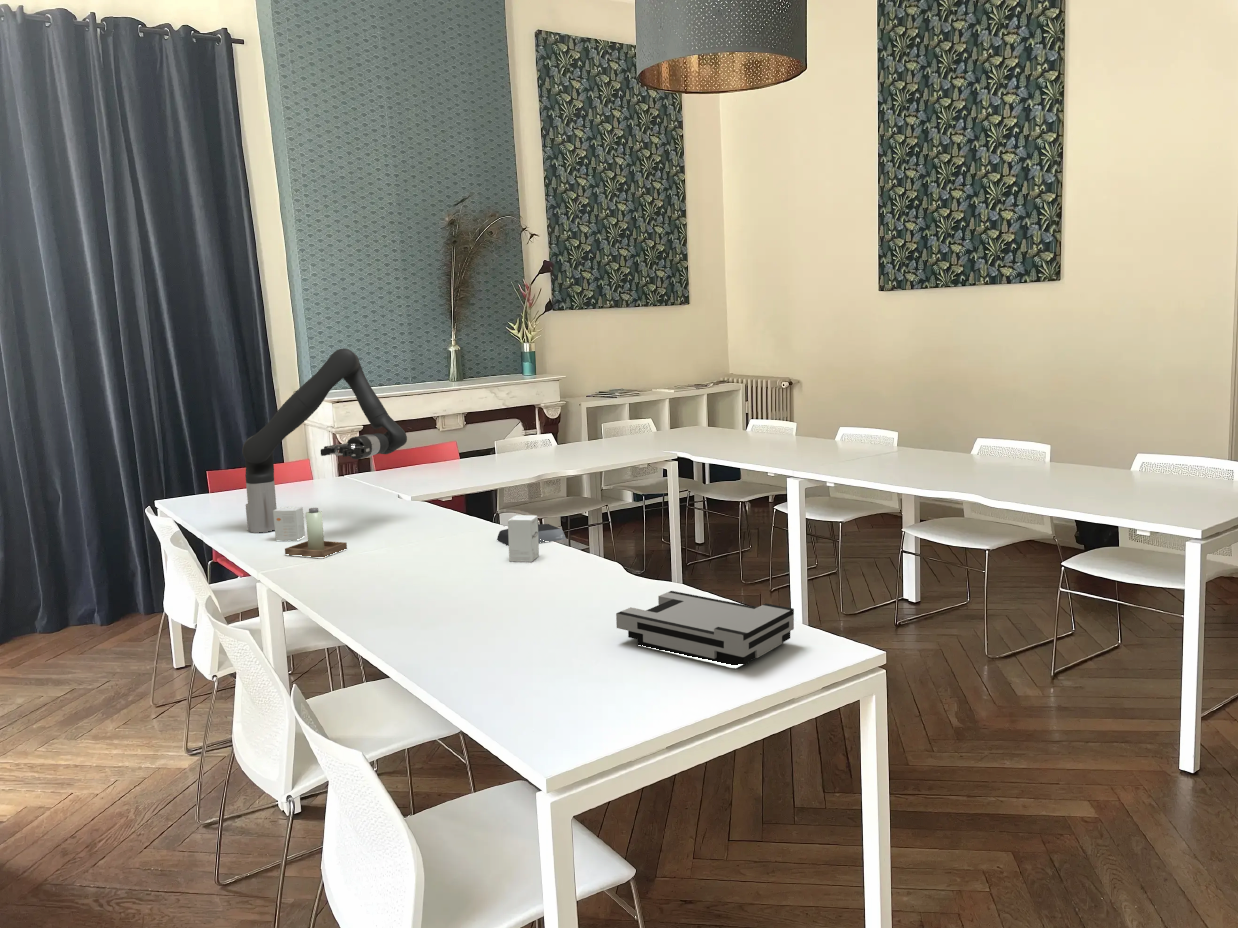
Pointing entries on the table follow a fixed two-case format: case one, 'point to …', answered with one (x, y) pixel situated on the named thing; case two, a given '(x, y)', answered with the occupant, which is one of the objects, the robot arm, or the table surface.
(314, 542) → the bottle
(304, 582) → the table surface
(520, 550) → the supplement box
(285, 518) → the small box
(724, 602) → the game console
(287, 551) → the tray
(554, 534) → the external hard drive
